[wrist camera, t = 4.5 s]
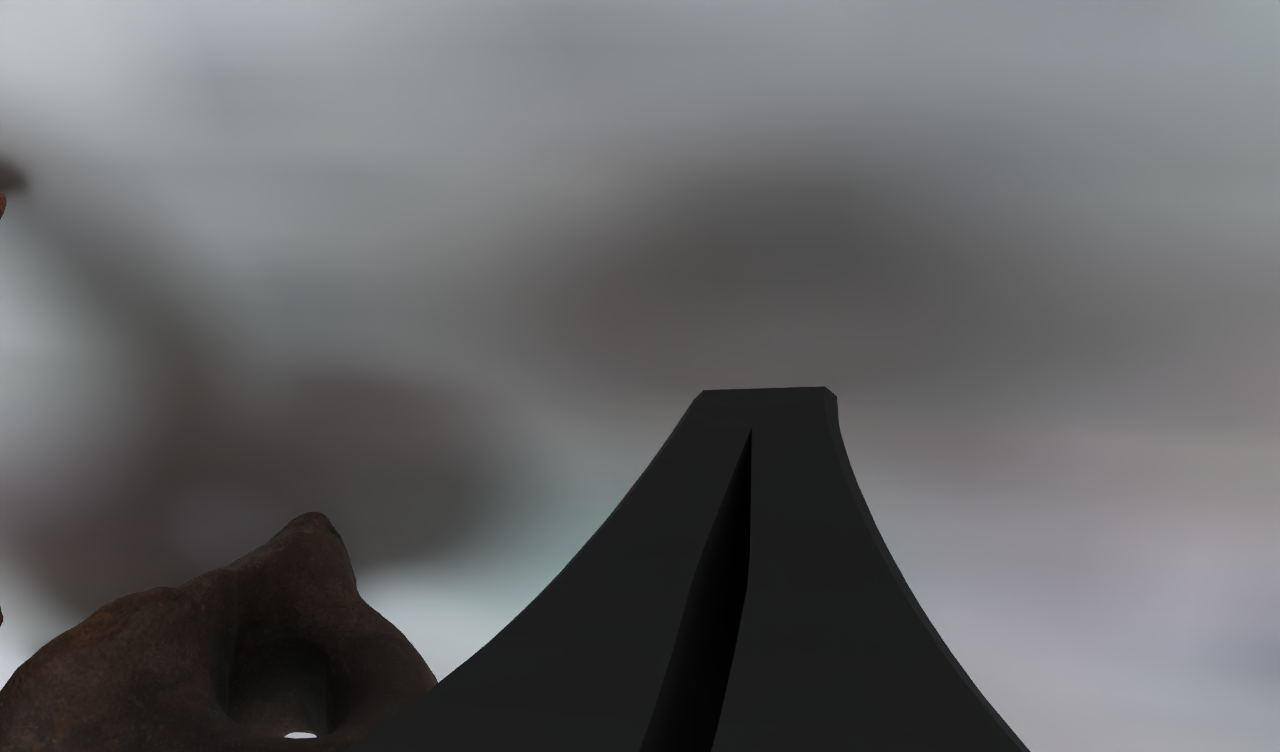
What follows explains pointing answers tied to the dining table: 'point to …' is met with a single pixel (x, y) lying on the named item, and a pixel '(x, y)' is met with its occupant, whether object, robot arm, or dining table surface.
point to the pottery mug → (222, 661)
